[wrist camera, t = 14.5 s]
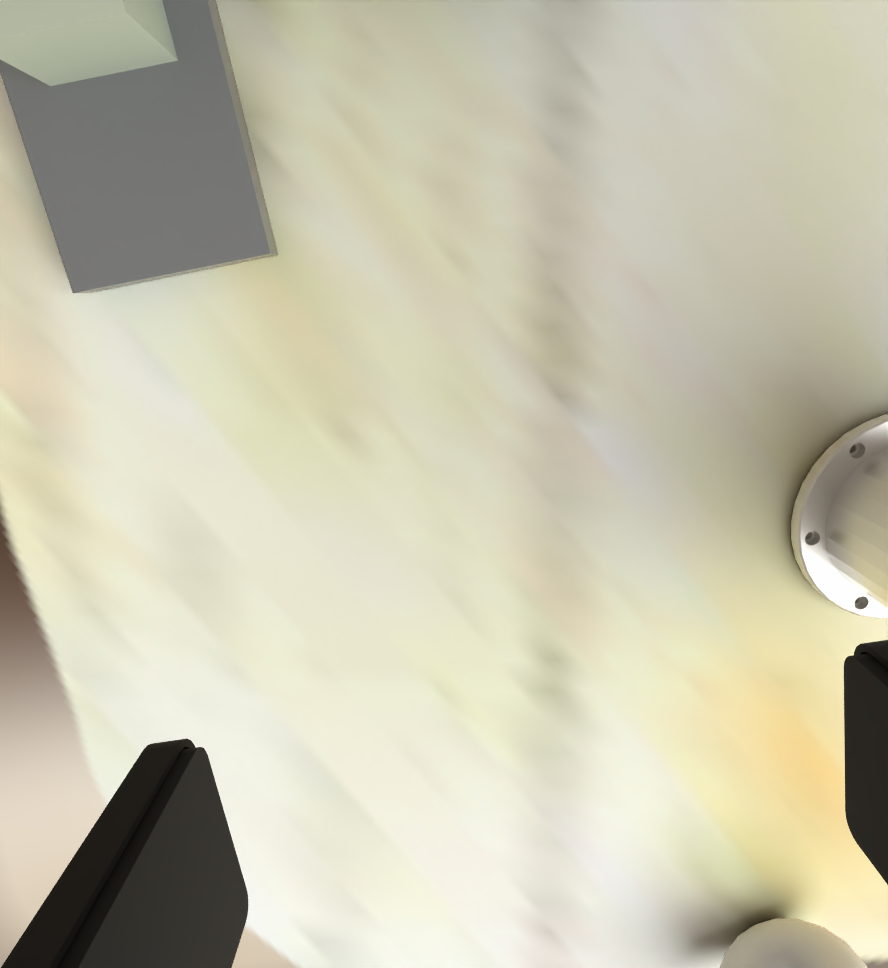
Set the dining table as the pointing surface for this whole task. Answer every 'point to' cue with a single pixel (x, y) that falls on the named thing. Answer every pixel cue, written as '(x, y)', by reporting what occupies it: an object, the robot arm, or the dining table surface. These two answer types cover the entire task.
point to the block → (83, 37)
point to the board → (147, 162)
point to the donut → (789, 947)
